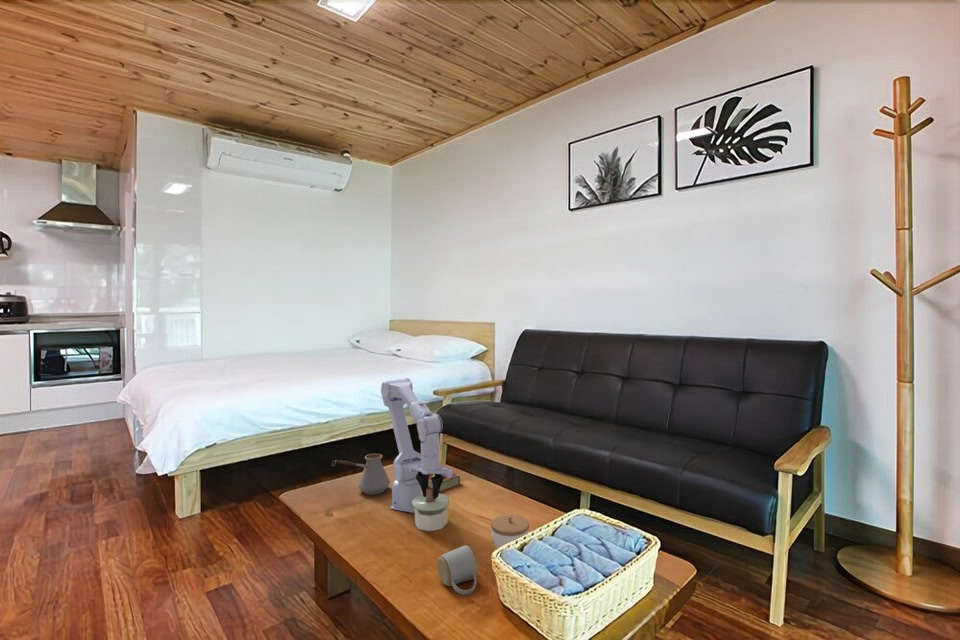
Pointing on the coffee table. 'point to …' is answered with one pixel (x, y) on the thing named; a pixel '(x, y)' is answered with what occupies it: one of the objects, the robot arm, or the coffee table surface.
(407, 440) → the robot arm
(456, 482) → the hardcover book
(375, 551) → the coffee table surface
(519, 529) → the lidded jar
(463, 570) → the ceramic mug
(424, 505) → the lid
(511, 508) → the coffee table surface
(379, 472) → the coffee pot
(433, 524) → the bowl
